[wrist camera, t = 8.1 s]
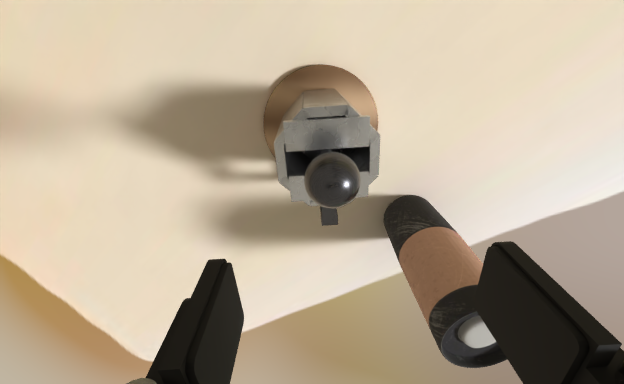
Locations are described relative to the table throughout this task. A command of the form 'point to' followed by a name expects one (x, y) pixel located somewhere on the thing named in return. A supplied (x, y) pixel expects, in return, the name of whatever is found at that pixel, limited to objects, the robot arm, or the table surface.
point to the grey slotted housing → (324, 142)
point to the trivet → (315, 80)
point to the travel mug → (442, 281)
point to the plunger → (331, 177)
